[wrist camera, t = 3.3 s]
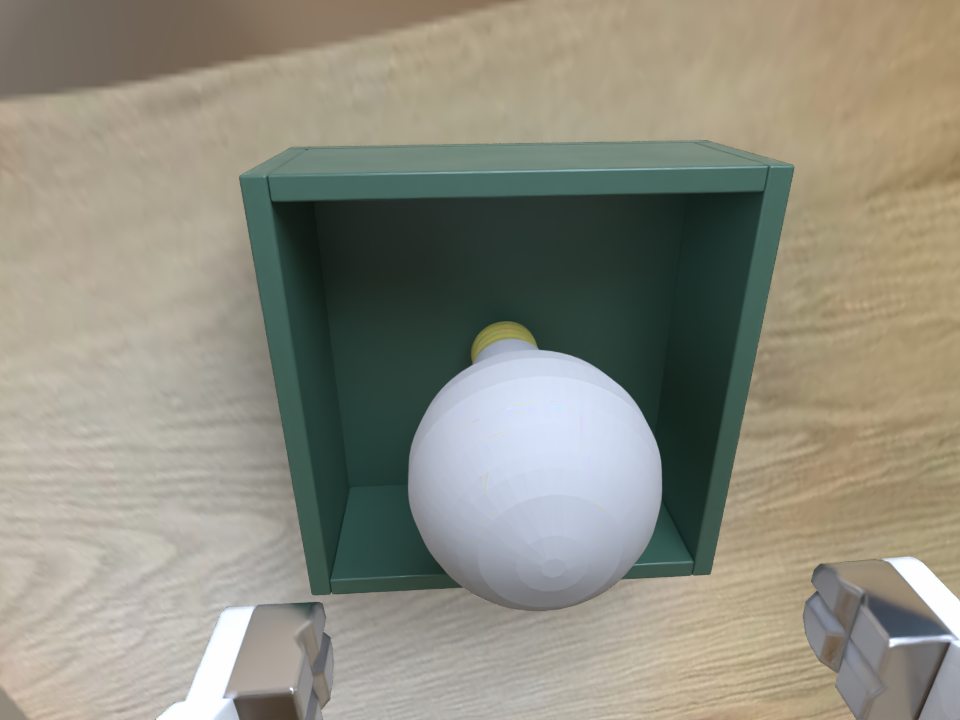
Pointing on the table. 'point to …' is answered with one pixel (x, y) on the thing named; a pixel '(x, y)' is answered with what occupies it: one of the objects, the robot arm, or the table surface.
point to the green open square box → (505, 316)
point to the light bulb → (533, 475)
